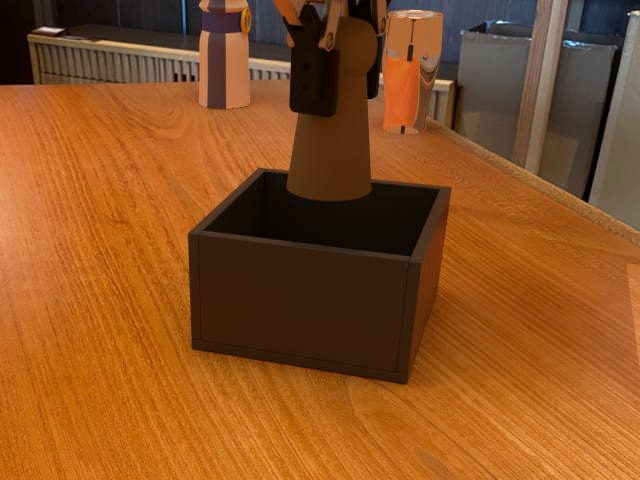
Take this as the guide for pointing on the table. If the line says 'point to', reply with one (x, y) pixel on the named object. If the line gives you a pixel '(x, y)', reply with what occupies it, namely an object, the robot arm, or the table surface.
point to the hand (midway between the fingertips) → (334, 101)
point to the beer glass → (410, 68)
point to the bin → (318, 275)
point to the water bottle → (224, 54)
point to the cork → (338, 126)
